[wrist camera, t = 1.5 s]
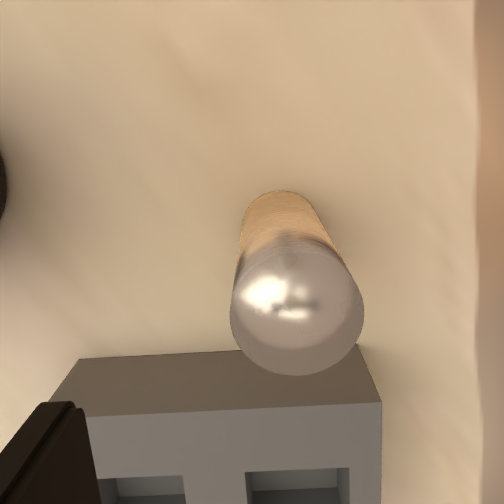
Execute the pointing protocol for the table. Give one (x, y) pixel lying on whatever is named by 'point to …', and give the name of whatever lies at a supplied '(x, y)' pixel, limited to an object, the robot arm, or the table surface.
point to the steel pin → (292, 290)
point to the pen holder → (2, 188)
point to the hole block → (229, 430)
